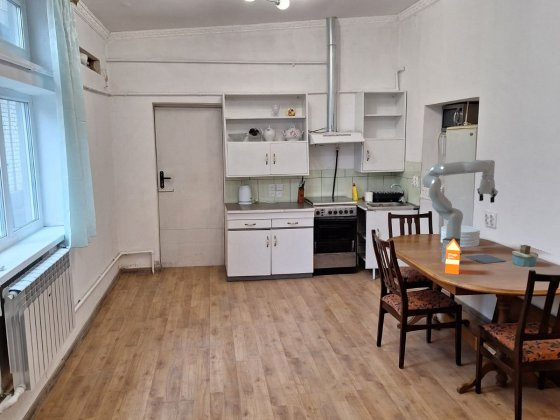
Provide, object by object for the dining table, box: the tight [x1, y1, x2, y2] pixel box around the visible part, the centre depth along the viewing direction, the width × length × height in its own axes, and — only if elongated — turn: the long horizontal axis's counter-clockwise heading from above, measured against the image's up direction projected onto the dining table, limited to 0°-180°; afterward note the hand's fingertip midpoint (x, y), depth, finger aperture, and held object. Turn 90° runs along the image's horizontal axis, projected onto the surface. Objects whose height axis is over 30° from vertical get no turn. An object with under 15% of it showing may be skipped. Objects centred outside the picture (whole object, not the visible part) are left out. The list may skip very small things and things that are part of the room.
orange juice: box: [444, 239, 461, 275], centre depth 275 cm, size 8×9×20 cm
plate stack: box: [440, 224, 481, 248], centre depth 352 cm, size 28×28×12 cm
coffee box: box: [441, 237, 461, 264], centre depth 296 cm, size 9×6×16 cm
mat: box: [464, 253, 507, 265], centre depth 304 cm, size 18×18×1 cm
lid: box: [511, 244, 539, 258], centre depth 291 cm, size 15×15×6 cm
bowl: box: [512, 254, 538, 268], centre depth 292 cm, size 13×13×6 cm
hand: (486, 201), depth 321 cm, fingers open, 9 cm apart
